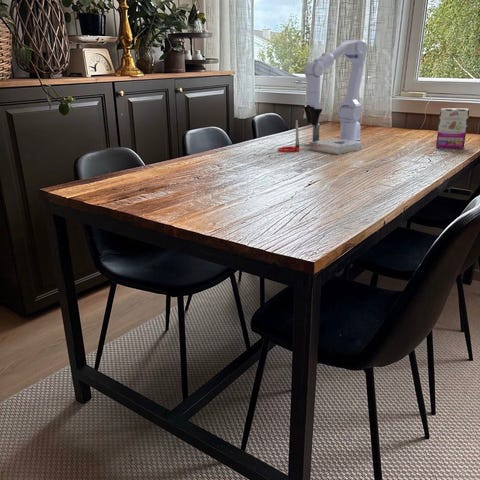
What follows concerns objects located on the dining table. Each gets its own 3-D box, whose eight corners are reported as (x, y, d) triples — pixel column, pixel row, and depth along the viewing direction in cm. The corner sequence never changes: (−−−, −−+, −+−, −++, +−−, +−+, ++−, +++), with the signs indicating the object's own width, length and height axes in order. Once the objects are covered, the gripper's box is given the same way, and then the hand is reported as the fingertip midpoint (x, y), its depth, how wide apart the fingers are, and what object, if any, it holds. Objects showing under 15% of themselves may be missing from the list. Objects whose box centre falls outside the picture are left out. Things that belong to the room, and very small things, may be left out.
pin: (315, 142, 219) (316, 123, 215) (320, 143, 216) (321, 123, 213) (310, 143, 217) (311, 123, 213) (315, 144, 215) (316, 124, 211)
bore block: (332, 144, 214) (333, 137, 213) (362, 148, 203) (362, 141, 202) (309, 149, 204) (309, 142, 203) (338, 154, 193) (339, 147, 192)
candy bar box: (463, 147, 202) (469, 108, 196) (463, 149, 198) (470, 109, 191) (435, 145, 206) (440, 107, 200) (435, 148, 201) (440, 108, 195)
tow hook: (278, 153, 200) (300, 152, 199) (277, 122, 195) (299, 121, 194) (277, 149, 208) (298, 148, 207) (276, 120, 203) (298, 118, 202)
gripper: (299, 90, 207) (299, 122, 212) (308, 93, 194) (307, 126, 199) (315, 90, 208) (314, 121, 213) (324, 92, 194) (323, 126, 199)
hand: (312, 123), depth 206 cm, fingers open, 7 cm apart
